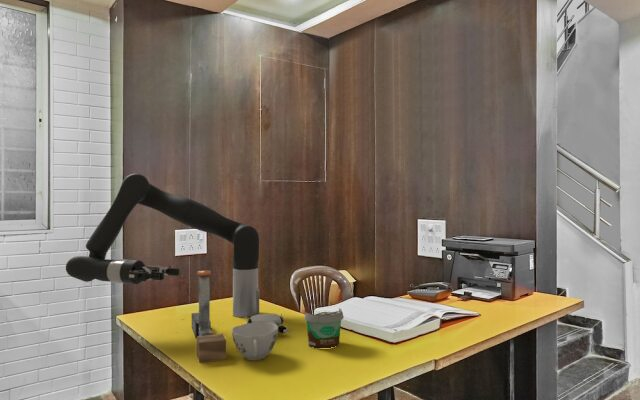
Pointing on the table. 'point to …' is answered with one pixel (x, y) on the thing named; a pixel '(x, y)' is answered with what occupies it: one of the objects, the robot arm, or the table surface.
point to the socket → (211, 348)
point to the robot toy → (269, 320)
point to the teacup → (255, 339)
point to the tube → (204, 303)
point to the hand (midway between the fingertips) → (171, 274)
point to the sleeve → (196, 321)
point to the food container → (324, 329)
